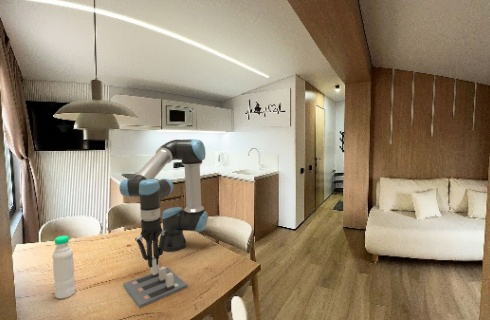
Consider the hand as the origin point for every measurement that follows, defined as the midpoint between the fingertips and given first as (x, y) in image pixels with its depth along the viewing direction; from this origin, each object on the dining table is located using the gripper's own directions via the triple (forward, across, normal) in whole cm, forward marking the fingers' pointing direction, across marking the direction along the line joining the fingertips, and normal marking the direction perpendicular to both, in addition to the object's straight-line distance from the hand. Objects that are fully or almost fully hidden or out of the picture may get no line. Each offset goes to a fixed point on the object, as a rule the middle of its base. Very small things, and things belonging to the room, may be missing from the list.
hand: (153, 273), depth 107 cm
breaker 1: (+9, +6, +13) cm, 17 cm away
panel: (+10, +3, +6) cm, 12 cm away
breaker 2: (+9, +6, +6) cm, 13 cm away
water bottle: (+10, -28, +26) cm, 40 cm away
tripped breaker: (+9, +6, -1) cm, 11 cm away
